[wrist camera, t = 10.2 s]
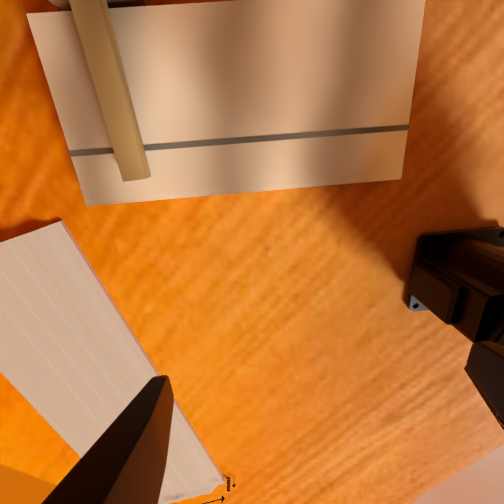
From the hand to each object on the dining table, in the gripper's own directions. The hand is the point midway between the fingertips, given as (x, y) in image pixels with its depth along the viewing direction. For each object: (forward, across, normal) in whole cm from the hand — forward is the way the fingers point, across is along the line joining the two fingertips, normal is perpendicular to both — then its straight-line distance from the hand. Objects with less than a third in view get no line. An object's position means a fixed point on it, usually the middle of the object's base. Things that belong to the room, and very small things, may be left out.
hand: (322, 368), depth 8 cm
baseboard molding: (+13, +14, +14) cm, 24 cm away
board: (+12, +2, -8) cm, 14 cm away
